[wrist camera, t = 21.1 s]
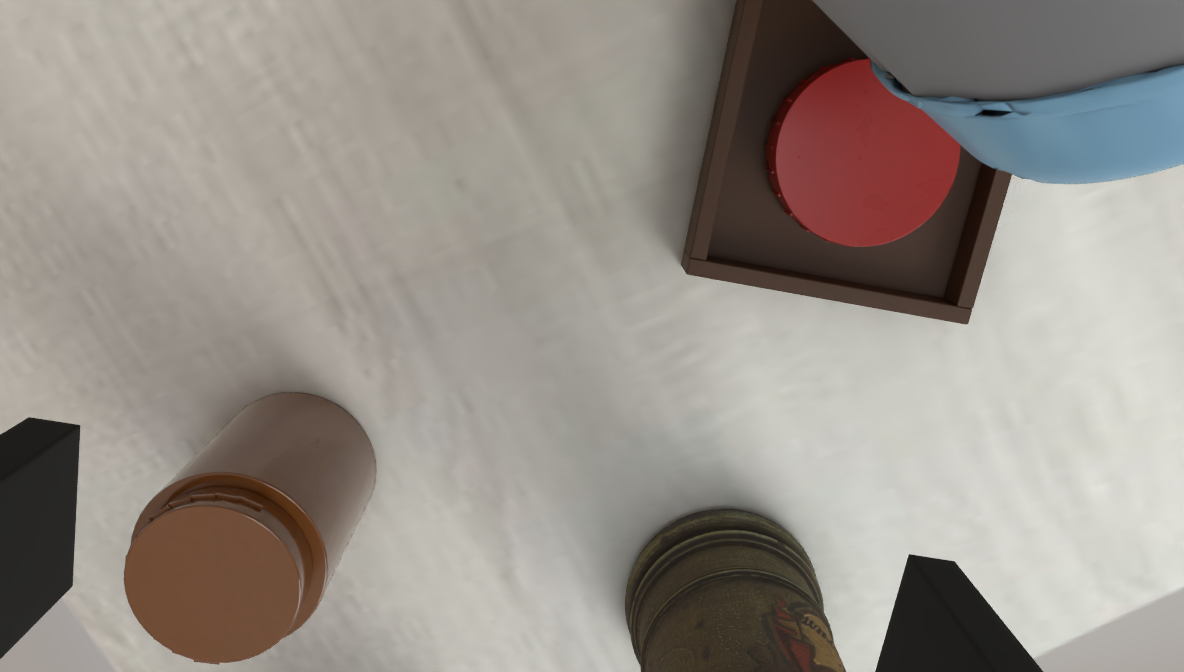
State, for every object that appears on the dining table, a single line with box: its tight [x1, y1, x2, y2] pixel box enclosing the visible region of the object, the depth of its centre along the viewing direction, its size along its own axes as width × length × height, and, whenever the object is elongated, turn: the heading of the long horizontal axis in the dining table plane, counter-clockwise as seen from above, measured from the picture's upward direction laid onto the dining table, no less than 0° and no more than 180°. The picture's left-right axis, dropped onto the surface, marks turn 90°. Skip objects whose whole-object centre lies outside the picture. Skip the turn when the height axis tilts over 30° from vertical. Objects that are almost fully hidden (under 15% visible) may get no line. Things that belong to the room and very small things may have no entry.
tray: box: [681, 0, 1012, 324], centre depth 39 cm, size 12×12×2 cm
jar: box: [124, 393, 376, 664], centre depth 38 cm, size 7×7×11 cm
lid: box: [765, 57, 960, 247], centre depth 39 cm, size 7×7×2 cm
